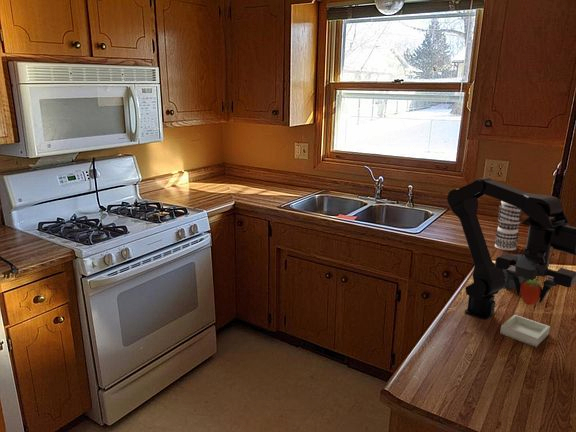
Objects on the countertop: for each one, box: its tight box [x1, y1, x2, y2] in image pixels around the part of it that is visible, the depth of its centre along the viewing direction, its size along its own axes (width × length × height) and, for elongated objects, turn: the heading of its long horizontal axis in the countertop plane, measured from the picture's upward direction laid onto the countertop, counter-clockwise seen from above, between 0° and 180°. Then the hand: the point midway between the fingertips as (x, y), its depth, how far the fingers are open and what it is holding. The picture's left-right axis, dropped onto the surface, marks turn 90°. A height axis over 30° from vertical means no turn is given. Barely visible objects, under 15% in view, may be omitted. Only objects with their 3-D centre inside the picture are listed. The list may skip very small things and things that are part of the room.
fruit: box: [520, 278, 543, 306], centre depth 121 cm, size 5×5×8 cm
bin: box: [499, 314, 551, 348], centre depth 125 cm, size 9×9×2 cm
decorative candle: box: [494, 200, 523, 251], centre depth 191 cm, size 9×9×25 cm
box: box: [503, 253, 529, 290], centre depth 155 cm, size 8×6×11 cm
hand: (529, 298), depth 122 cm, fingers closed on fruit, 5 cm apart
